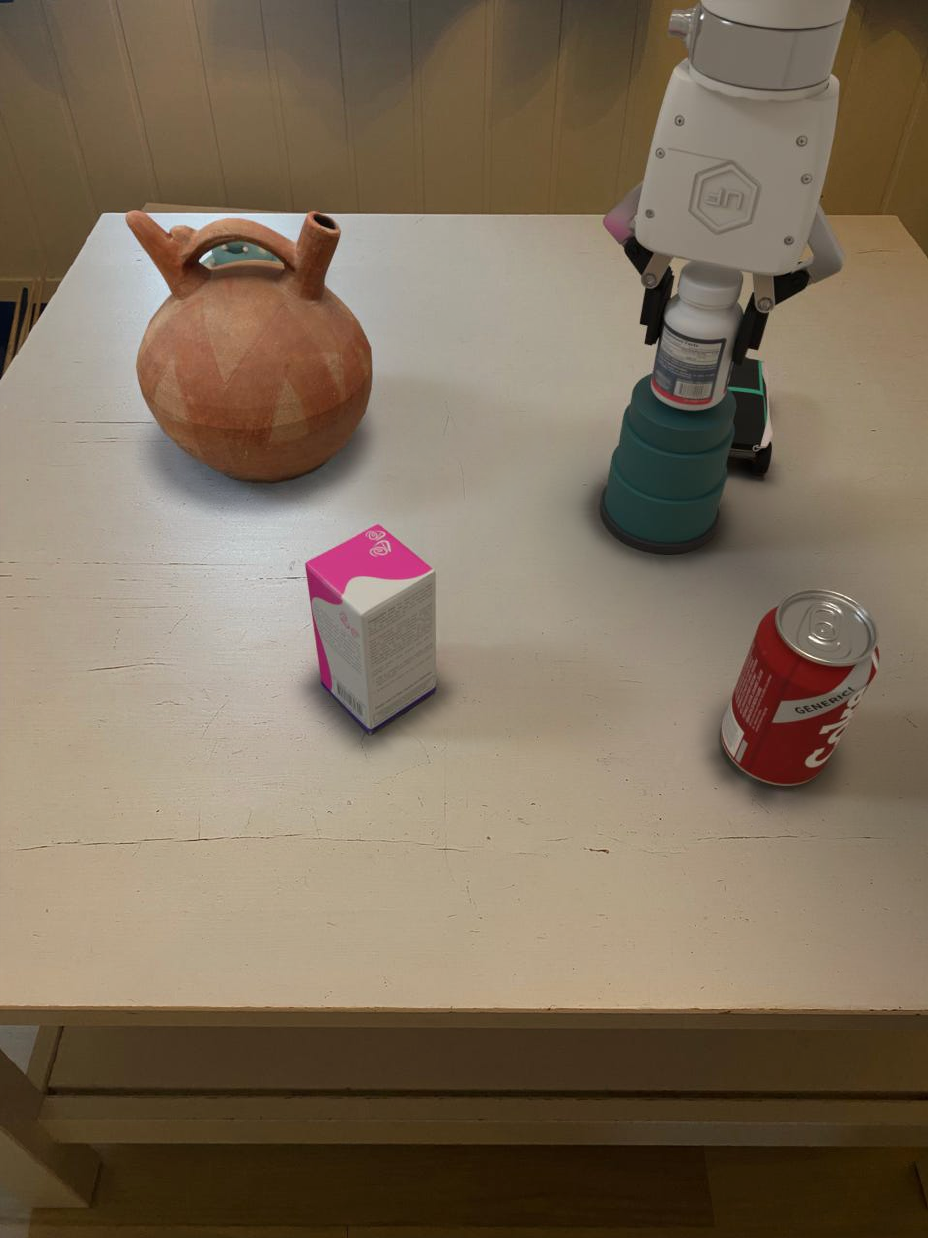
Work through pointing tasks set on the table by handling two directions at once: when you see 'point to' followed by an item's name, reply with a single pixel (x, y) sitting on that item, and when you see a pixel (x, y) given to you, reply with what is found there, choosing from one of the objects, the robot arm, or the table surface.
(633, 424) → the cup stack
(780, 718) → the soda can
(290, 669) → the table surface
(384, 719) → the supplement box
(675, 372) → the pill bottle
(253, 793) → the table surface
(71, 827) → the table surface
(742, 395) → the toy car
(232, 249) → the stuffed animal
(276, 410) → the jug
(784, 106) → the robot arm
